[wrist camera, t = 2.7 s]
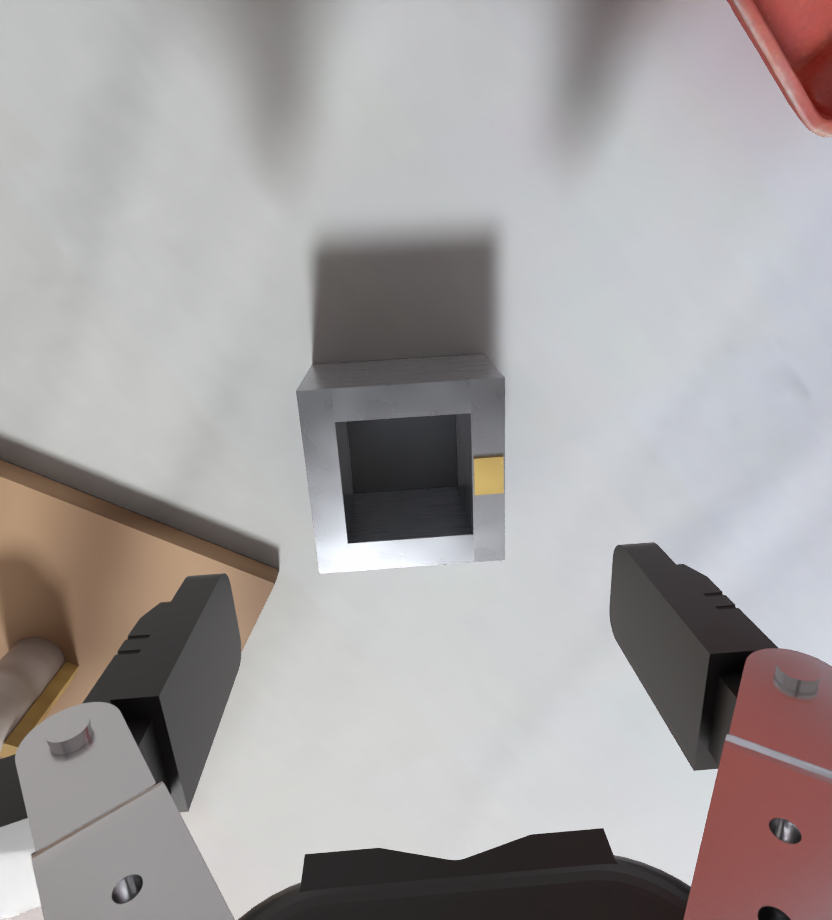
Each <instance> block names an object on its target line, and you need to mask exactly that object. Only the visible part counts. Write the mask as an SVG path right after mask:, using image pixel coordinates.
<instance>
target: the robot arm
mask: <svg viewBox="0 0 832 920" xmlns="http://www.w3.org/2000/svg"><path fill="white" fill-rule="evenodd" d="M610 622H611V627H612V631H613V634H614V637H615V639H616V641H617V643H618V645H619V646H620V648H621V650H622V651H623V653H624V655H625V656H626V658H627V660H628V661H629V663H630V665H631V666H632V668H633V670H634V671H635V673H636V675H637V676H638V678H639V680H640V681H641V683H642V685H643V686H644V688H645V690H646V691H647V693H648V695H649V696H650V698H651V700H652V701H653V703H654V705H655V706H656V708H657V710H658V711H659V713H660V715H661V716H662V718H663V720H664V721H665V723H666V725H667V727H668V728H669V730H670V732H671V733H672V735H673V737H674V738H675V740H676V742H677V743H678V745H679V747H680V748H681V750H682V752H683V753H684V755H685V757H686V758H687V760H688V762H689V763H690V765H691V767H692V768H693V770H694V771H695V770H707V769H718V773H717V777H716V781H715V786H714V790H713V794H712V799H711V803H710V807H709V811H708V816H707V820H706V824H705V829H704V833H703V837H702V842H701V846H700V850H699V855H698V859H697V863H696V868H695V872H694V876H693V881H692V885H691V887H690V886H689V885H687V884H686V883H684V882H683V881H681V880H679V879H677V878H675V877H673V876H672V875H670V874H668V873H666V872H664V871H662V870H660V869H657V868H655V867H652V866H650V865H647V864H645V863H642V862H639V861H635V860H632V859H628V858H625V857H620V856H615V855H613V853H612V850H611V848H610V845H609V842H608V840H607V837H606V834H605V832H604V829H603V828H602V829H590V830H579V831H568V832H556V833H545V834H533V835H529V836H526V837H523V838H520V839H518V840H515V841H512V842H509V843H507V844H504V845H501V846H498V847H496V848H493V849H490V850H487V851H485V852H482V853H479V854H477V855H474V856H471V857H468V858H466V859H462V860H446V859H441V858H435V857H429V856H423V855H417V854H411V853H405V852H400V851H394V850H388V849H382V848H373V849H362V850H350V851H339V852H328V853H316V854H305V858H304V866H303V873H302V881H301V883H298V884H296V885H293V886H290V887H288V888H286V889H284V890H282V891H280V892H278V893H276V894H274V895H272V896H270V897H269V898H267V899H266V900H264V901H263V902H261V903H259V904H258V905H256V906H255V907H253V908H252V909H251V910H250V911H248V912H247V913H246V914H244V915H243V916H242V917H241V918H239V919H238V920H832V666H830V665H828V664H827V663H825V662H823V661H821V660H819V659H817V658H815V657H812V656H810V655H807V654H804V653H801V652H797V651H793V650H788V649H780V648H778V647H777V646H776V645H775V644H774V643H773V642H772V641H771V640H770V639H769V638H768V637H767V636H766V635H765V634H764V633H763V632H762V631H761V630H760V629H759V628H758V627H757V626H756V625H755V624H754V623H753V622H752V621H751V620H750V619H749V618H748V617H747V616H746V615H745V614H744V613H743V612H742V611H741V610H740V609H739V608H735V604H734V603H733V602H732V601H731V600H730V599H729V598H728V597H727V596H726V595H723V594H722V591H721V590H720V589H719V588H718V587H717V586H716V585H715V584H714V583H713V582H712V581H711V580H710V579H709V578H708V577H707V576H705V575H703V574H701V573H699V572H697V571H696V570H694V569H692V568H690V567H688V566H686V565H684V564H679V565H676V564H675V563H674V562H673V561H672V560H671V559H670V558H669V557H668V555H667V554H666V553H665V552H664V551H663V550H662V549H661V548H660V547H659V546H658V545H657V544H656V543H640V544H626V545H618V546H616V548H615V550H614V554H613V564H612V580H611V595H610ZM117 652H118V654H117V655H115V656H114V657H113V659H112V660H111V661H110V663H109V664H108V666H107V667H106V669H105V670H104V672H103V673H102V675H101V676H100V678H99V679H98V681H97V682H96V684H95V685H94V687H93V688H92V690H91V691H90V693H89V694H88V695H87V697H86V698H85V700H84V701H83V703H82V704H79V705H76V706H72V707H69V708H67V709H64V710H62V711H60V712H58V713H56V714H54V715H52V716H50V717H49V718H47V719H46V720H44V721H43V722H41V723H40V724H39V725H37V726H36V727H35V728H34V729H33V730H31V731H30V732H29V733H28V735H27V736H26V737H25V738H24V739H23V741H22V742H21V743H20V745H19V747H18V749H17V751H16V754H14V755H11V756H9V757H5V758H2V759H0V920H6V919H9V918H11V917H14V916H17V915H19V914H22V913H24V912H27V911H29V910H32V909H35V908H37V907H40V906H41V907H42V912H43V916H44V920H235V919H234V917H233V915H232V913H231V911H230V909H229V908H228V906H227V904H226V902H225V900H224V898H223V896H222V894H221V892H220V890H219V888H218V886H217V884H216V882H215V880H214V878H213V876H212V875H211V873H210V871H209V869H208V867H207V865H206V863H205V861H204V859H203V857H202V855H201V853H200V851H199V849H198V847H197V845H196V844H195V842H194V840H193V838H192V836H191V834H190V832H189V830H188V828H187V826H186V824H185V822H184V820H183V818H182V816H181V814H180V812H188V811H189V808H190V805H191V802H192V799H193V797H194V794H195V791H196V788H197V785H198V783H199V780H200V777H201V774H202V771H203V768H204V766H205V763H206V760H207V757H208V754H209V752H210V749H211V746H212V743H213V740H214V737H215V735H216V732H217V729H218V726H219V723H220V721H221V718H222V715H223V712H224V709H225V706H226V704H227V701H228V698H229V695H230V692H231V689H232V687H233V684H234V681H235V678H236V675H237V673H238V670H239V666H240V660H241V638H240V632H239V626H238V621H237V616H236V610H235V605H234V600H233V594H232V589H231V584H230V580H229V578H228V576H227V574H225V573H221V574H207V575H194V576H187V577H186V578H185V579H184V581H183V583H182V584H181V586H180V588H179V589H178V591H177V592H176V594H175V596H174V597H173V599H172V600H171V602H160V603H159V604H158V605H156V606H155V607H154V608H152V609H151V610H150V611H149V612H147V613H146V614H145V615H143V616H142V617H141V618H140V619H139V620H138V622H137V623H136V625H135V626H134V627H133V629H132V630H131V632H130V633H129V635H128V639H127V640H125V641H124V642H123V644H122V645H121V647H120V648H119V650H118V651H117Z"/></svg>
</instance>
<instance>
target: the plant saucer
mask: <svg viewBox="0 0 832 920" xmlns="http://www.w3.org/2000/svg"><path fill="white" fill-rule="evenodd" d="M727 1H728V3H729V4H730V6H731V8H732V10H733V12H734V13H735V15H736V17H737V18H738V20H739V22H740V23H741V25H742V27H743V28H744V30H745V32H746V33H747V35H748V36H749V38H750V40H751V41H752V43H753V44H754V46H755V48H756V49H757V51H758V52H759V54H760V56H761V58H762V59H763V61H764V63H765V65H766V66H767V68H768V70H769V71H770V73H771V75H772V76H773V78H774V80H775V81H776V83H777V85H778V86H779V88H780V90H781V91H782V93H783V95H784V96H785V98H786V100H787V102H788V103H789V105H790V106H791V108H792V109H793V110H794V112H795V113H796V115H797V116H798V117H799V119H800V120H801V121H802V122H803V124H804V125H805V126H806V127H807V128H808V129H809V130H810V131H812V132H813V133H815V134H817V135H820V136H822V137H832V0H727Z"/></svg>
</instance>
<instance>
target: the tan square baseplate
mask: <svg viewBox="0 0 832 920" xmlns="http://www.w3.org/2000/svg"><path fill="white" fill-rule="evenodd" d="M278 572H279V570H278V569H275V568H273V567H270V566H268V565H265V564H263V563H260V562H258V561H255V560H253V559H250V558H248V557H245V556H243V555H240V554H237V553H235V552H232V551H230V550H227V549H225V548H222V547H220V546H217V545H215V544H212V543H210V542H207V541H205V540H202V539H200V538H197V537H195V536H192V535H190V534H187V533H184V532H182V531H179V530H177V529H174V528H172V527H169V526H167V525H164V524H162V523H159V522H157V521H154V520H152V519H149V518H147V517H144V516H142V515H139V514H137V513H134V512H131V511H129V510H126V509H124V508H121V507H119V506H116V505H114V504H111V503H109V502H106V501H104V500H101V499H99V498H96V497H94V496H91V495H89V494H86V493H84V492H81V491H78V490H76V489H73V488H71V487H68V486H66V485H63V484H61V483H58V482H56V481H53V480H51V479H48V478H46V477H43V476H41V475H38V474H36V473H33V472H31V471H28V470H25V469H23V468H20V467H18V466H15V465H13V464H10V463H8V462H5V461H3V460H0V759H2V758H5V757H9V756H11V755H14V754H16V751H17V749H18V747H19V745H20V743H21V742H22V741H23V739H24V738H25V737H26V736H27V735H28V733H29V732H30V731H31V730H33V729H34V728H35V727H36V726H37V725H39V724H40V723H41V722H43V721H44V720H46V719H47V718H49V717H50V716H52V715H54V714H56V713H58V712H60V711H62V710H64V709H67V708H69V707H72V706H76V705H79V704H82V703H83V701H84V700H85V698H86V697H87V695H88V694H89V693H90V691H91V690H92V688H93V687H94V685H95V684H96V682H97V681H98V679H99V678H100V676H101V675H102V673H103V672H104V670H105V669H106V667H107V666H108V664H109V663H110V661H111V660H112V659H113V657H114V656H115V655H117V654H118V652H117V651H118V650H119V648H120V647H121V645H122V644H123V642H124V641H125V640H127V639H128V635H129V633H130V632H131V630H132V629H133V627H134V626H135V625H136V623H137V622H138V620H139V619H140V618H141V617H142V616H143V615H145V614H146V613H147V612H149V611H150V610H151V609H152V608H154V607H155V606H156V605H158V604H159V603H160V602H171V600H172V599H173V597H174V596H175V594H176V592H177V591H178V589H179V588H180V586H181V584H182V583H183V581H184V579H185V578H186V577H187V576H194V575H207V574H221V573H225V574H227V576H228V578H229V580H230V584H231V589H232V594H233V600H234V605H235V610H236V616H237V621H238V626H239V632H240V638H241V652H242V650H243V648H244V646H245V644H246V642H247V640H248V638H249V636H250V634H251V632H252V629H253V627H254V625H255V623H256V621H257V619H258V617H259V615H260V613H261V611H262V609H263V607H264V605H265V603H266V601H267V599H268V597H269V595H270V593H271V591H272V588H273V586H274V584H275V582H276V579H277V575H278Z"/></svg>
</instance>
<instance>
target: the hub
mask: <svg viewBox="0 0 832 920" xmlns="http://www.w3.org/2000/svg"><path fill="white" fill-rule="evenodd" d="M296 393H297V401H298V409H299V416H300V424H301V432H302V440H303V448H304V456H305V464H306V471H307V479H308V487H309V495H310V503H311V511H312V518H313V526H314V534H315V542H316V550H317V558H318V566H319V573H334V572H347V571H361V570H374V569H387V568H401V567H414V566H428V565H441V564H454V563H468V562H481V561H495V560H505V377H504V376H503V375H502V374H501V373H500V372H499V371H498V370H497V369H496V368H495V367H494V366H493V365H492V364H491V362H490V361H489V360H488V359H487V358H486V357H485V356H484V355H483V354H472V355H456V356H440V357H425V358H409V359H393V360H377V361H361V362H346V363H330V364H314V365H312V366H311V367H310V369H309V371H308V372H307V374H306V376H305V377H304V379H303V381H302V382H301V384H300V386H299V387H298V389H297V391H296ZM451 414H456V428H457V460H458V486H453V487H439V488H425V489H410V490H396V491H382V492H368V493H354V491H353V481H352V471H351V461H350V451H349V441H348V430H347V421H361V420H376V419H391V418H406V417H421V416H436V415H451Z"/></svg>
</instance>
